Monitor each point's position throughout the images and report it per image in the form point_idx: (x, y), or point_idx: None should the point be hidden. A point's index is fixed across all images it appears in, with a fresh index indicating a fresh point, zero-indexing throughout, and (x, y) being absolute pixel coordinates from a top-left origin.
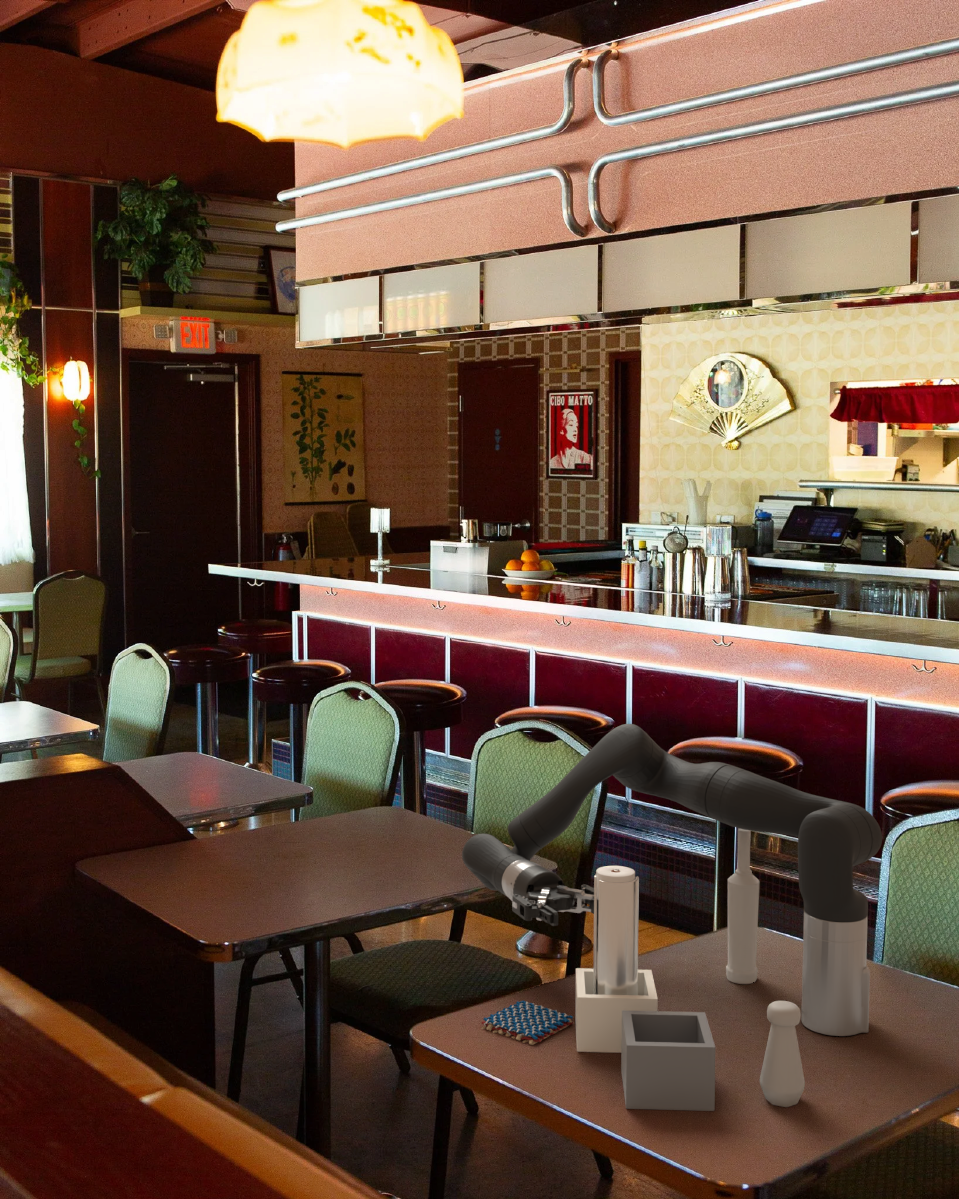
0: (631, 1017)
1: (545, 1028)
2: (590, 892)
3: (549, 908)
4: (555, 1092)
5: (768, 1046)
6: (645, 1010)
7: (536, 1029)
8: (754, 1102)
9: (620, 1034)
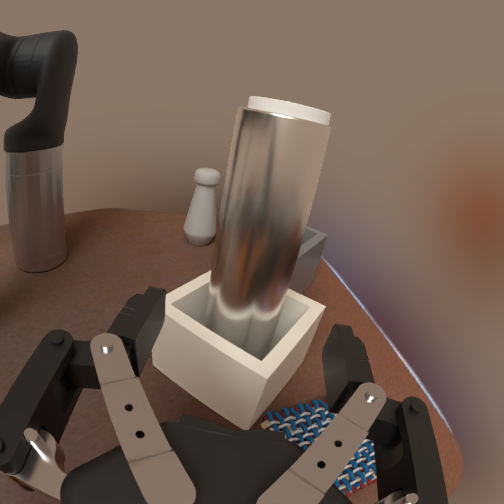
0: None
1: (325, 403)
2: (47, 396)
3: (351, 354)
4: (357, 319)
5: (213, 205)
6: None
7: None
8: None
9: None
